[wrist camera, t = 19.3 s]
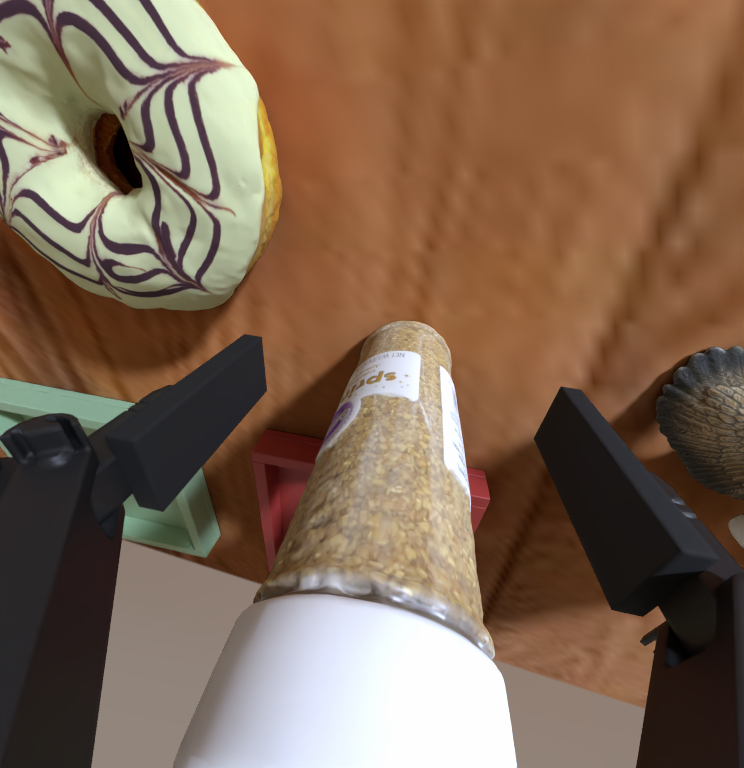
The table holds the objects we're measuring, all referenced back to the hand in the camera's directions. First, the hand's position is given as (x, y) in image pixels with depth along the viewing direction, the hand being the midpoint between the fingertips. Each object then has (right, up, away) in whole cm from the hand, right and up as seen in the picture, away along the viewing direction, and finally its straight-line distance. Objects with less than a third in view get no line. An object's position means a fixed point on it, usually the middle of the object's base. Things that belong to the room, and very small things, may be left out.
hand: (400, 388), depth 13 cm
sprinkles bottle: (0, +1, +2) cm, 3 cm away
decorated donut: (-10, +9, -1) cm, 13 cm away
